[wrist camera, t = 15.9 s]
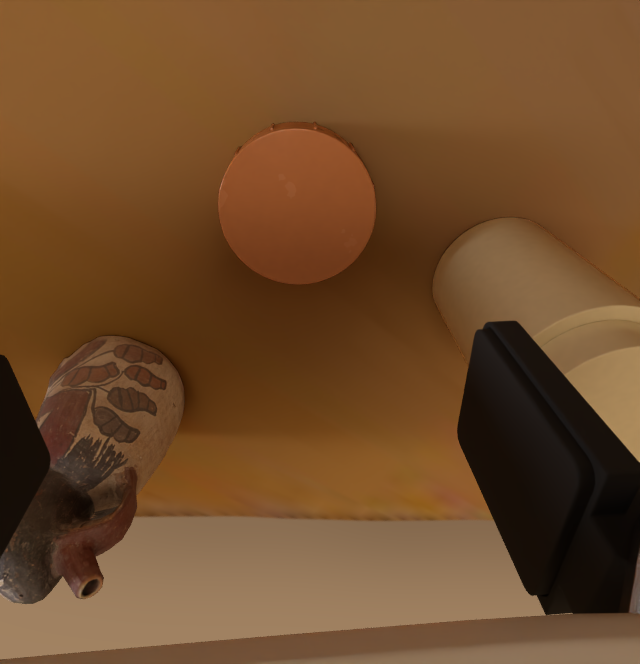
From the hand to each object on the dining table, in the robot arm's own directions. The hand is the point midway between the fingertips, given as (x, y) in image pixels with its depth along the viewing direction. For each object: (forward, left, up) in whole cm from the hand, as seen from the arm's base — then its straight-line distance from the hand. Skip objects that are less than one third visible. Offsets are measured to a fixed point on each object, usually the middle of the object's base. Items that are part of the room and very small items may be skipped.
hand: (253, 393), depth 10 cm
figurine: (-13, -4, -14) cm, 20 cm away
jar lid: (+1, -1, -13) cm, 13 cm away
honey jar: (+7, -9, -14) cm, 18 cm away
